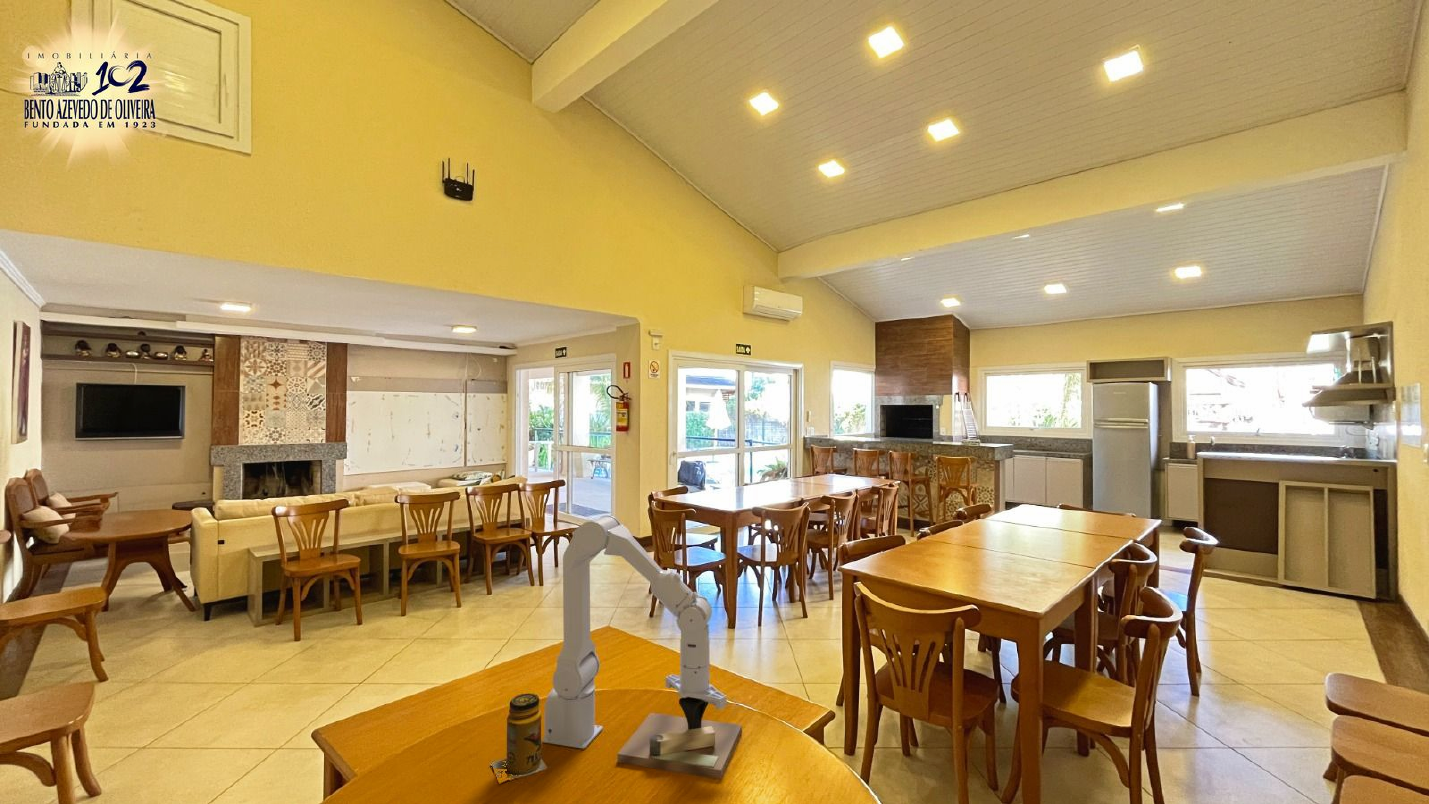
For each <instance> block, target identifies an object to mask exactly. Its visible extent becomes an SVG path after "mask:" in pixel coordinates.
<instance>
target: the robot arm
mask: <svg viewBox="0 0 1429 804" xmlns="http://www.w3.org/2000/svg"><path fill="white" fill-rule="evenodd" d="M603 550H604V551H603ZM602 551H603V555H605V556H617V557H621V558H623V559H624V560H625V561H626V562H627V564H630V566H632V567H633V568H634V569H635V570H636V571H637V572H638V573H639V574H640V575H642V577H644V578H645V579H646V580H647V581H648V582H649V583H650V593H651V594H652V595H653V596H654V597H655V598H656V599H657V601H659V602H660V603H661V604H662V605H663V606H664V607H665V608H666V609H667V611H669V612H670V613H671V614H672V615H673V616H674V617H676V624H677V627H678V629H679V631H680V643H679V644H680V648H679V649H680V655H679V657H680V658H679V659H680V667H679V671H680V675H676V674H670V675H667V676H665V687H666V688H667V689H672V688H673V689H675V690H676V691H677V696H678V697H681V698H679V699H678V704H679V706H680V708H681V710H682V712H683V714H684V716H685V717H686V719H687V723H688V730H691V729H697V728H701V721H702V720H703V717H704V715H705V712H706V709H707V706H708V705H709V704H710V705H713V706H715V708H716V709H717V710H722V709H725V707H727V704H728V703H727V702H728V701H727V698H728V697H727V695H726V694H724V693H722V692H721V691H719V690H718V689H717V688H715V687H714V686H713V685H712V683H711V684H710V680H711V679H710V643H711V642H710V625H709V622H710V620H711V619H712V618H711V617H712V613H713V609H712V606H711V604H710V602H709V601H708V599H707V598H706V596H704V595H703V596H702V595H699V593H697V592H696V591H694V592H693V590H691V589H690V588H689V586H687V584H686V583H685V582H683V580H682V579H681V578H682V575H681V574H680V573H679V572H676V573H675V572H674V571H673V570H669V569H667V570H666V569H665V570H664V569H662V567H661V566H660V565H658V563H657V562H656V561H655V560H654V559H653V557H651V555H649V553H648V552H647V551H646V550H645V549H644V547H643V546H642V545H641V544H640V543H639V542H638V541H637V540H636V539H635V537H633V535H632V534H631V532H630V531H629V529H628V527H626V525H624V524H622V523H621V522H620V521H619V519H618V518H616V517H615V516H612V515H611V514H610V515H608V514H607V515H603V516H600V517H599V518H596V519H593V520H589V521H586V522H584V523H582V524H581V525H580V526H579V527H577V528H576V529H574V531H573V532H572V537H571V540H569V543H568V545H567V547H566V549H565V551H564V552H563V556H562V585H563V586H562V597H563V599H562V600H563V601H562V607H563V610H562V611H563V614H562V615H563V619H562V621H563V645H562V647H561V650H560V651H559V654H558V656H557V658H556V659H557V660H556V669H555V671H554V674H553V675H552V687H553V688H552V689H551V691H550V692H549V693H548V695H547V698H546V701H545V705H544V737H543V738H541V743H545V744H550V745H551V744H552V745H559V746H564V747H571V748H576V749H577V748H578V749H585V748H587V746H588V745H589V744H590V743H591V742H592V741H593V740H594V739H595V738H596V737H597V736H598V735H599V734H600V733H601V732H602V730H604V727H603V726H602V725H598V724H597V725H596V723H595V721H596V720H595V719H596V718H595V716H596V713H595V712H596V708H595V707H596V706H595V704H596V699H595V698H596V696H595V695H596V694H595V693H596V691H595V690H596V684H595V677H596V676H597V675H598V674H599V671H600V666H601V664H600V659H599V657H598V654H597V652H596V644H595V643H594V642H593V640H592V639H591V582H590V581H591V578H590V577H591V575H590V573H591V572H590V569H591V568H590V567H591V565H590V563H591V562H592V561H593V560H594V559H595V558H596V557H598V555H599V554H600V553H601V552H602Z"/></svg>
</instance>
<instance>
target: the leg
mask: <svg viewBox="0 0 1429 804" xmlns="http://www.w3.org/2000/svg"><path fill="white" fill-rule="evenodd" d="M710 746H715V731H714V729H713V728H712V726H710V727H703V728H697V729H691V730H684V731H678V732H672V733H665V734H659V735H653V736H651V737H650V754H651V755H654V756H658V755H662V754H668V753H674V752H680V751H686V750H692V749H698V748H704V747H710Z"/></svg>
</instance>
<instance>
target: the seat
mask: <svg viewBox="0 0 1429 804" xmlns="http://www.w3.org/2000/svg"><path fill="white" fill-rule="evenodd" d="M710 726H712V728H713V729H714V731H715V746H710V747H704V748H698V749H692V750H686V751H680V752H674V753H668V754H662V755H658V756H654V755H651V754H650V737H651V736H653V735H659V734H665V733H672V732H678V731H684V730H688V723H687V719H686V716H685V717H684V716H677V715H670V714H663V713H657V712H650V713H649V714H648V716H646V718H645V719H644V720H643V722H642V723H641V724H640V726H638V728H636V731H635V732H634V733H633V734H632V735H631V736H630V738H629V739H628V740H627V742H625V744H624V745H623V746H622V748H620V750H619V751H618V753H617V763H618V764H619V763H622V764H627V765H633V766H640V767H645V768H651V769H658V770H661V771H662V770H664V771H669V772H676V773H682V774H687V775H692V776H693V775H694V776H699V777H706V778H712V779H716V780H717V779H718V780H722V779H723V776H724V774H725V772H726V770H727V767H728V765H729V762H730V761H731V758H732V756H733V754H734V753H735V752H734V751H735V750H736V747H737V745H738V743H739V741H738V740H740V738H741V736H742V734H743V724H738V723H731V722H721V721H714V720H707V719H702V721H701V728H703V727H710ZM741 733H742V734H741ZM740 735H741V736H740ZM739 737H740V738H739Z"/></svg>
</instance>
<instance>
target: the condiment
mask: <svg viewBox="0 0 1429 804" xmlns="http://www.w3.org/2000/svg"><path fill="white" fill-rule="evenodd" d="M540 708H541V707H540V698H539V696H538V694H535V693H527V692H526V693H521V694H518V695H516V696H514V697H513V698H512V699H511V700H510V701H509V710H508V712H509V714H508V715H507V718H506V758H504V759H500V760H495V761H493V763H492V762H491V763H492V764H491V763H489V764H490V766H492V765H493V768H495V769H507V771H505V773H506V774H512V775H513V776H511V777H510V776H507V777H506V778H509V777H510V778H511V779H512V778H516V779H520V778H522V777H527V776H529V775H532V774H535V773H536V774H537V773H538V772H541V771H545V770H546V769H548V766H547V765H546V763H545V761H544V760H543V759H542V757H541V756H542V753H541V751H542V718H543V717H542V711H541V710H540ZM503 761H506V763H505V762H503ZM504 764H505V765H504ZM506 764H507V765H506ZM502 765H504V766H506V767H504V766H502ZM502 772H503V771H501V772H500V771H498V772H496V773H501V774H502ZM516 775H517V776H516ZM519 775H522V777H521V776H519ZM498 777H499V775H498V774H497V778H498ZM500 778H502V775H501V777H500Z"/></svg>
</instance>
